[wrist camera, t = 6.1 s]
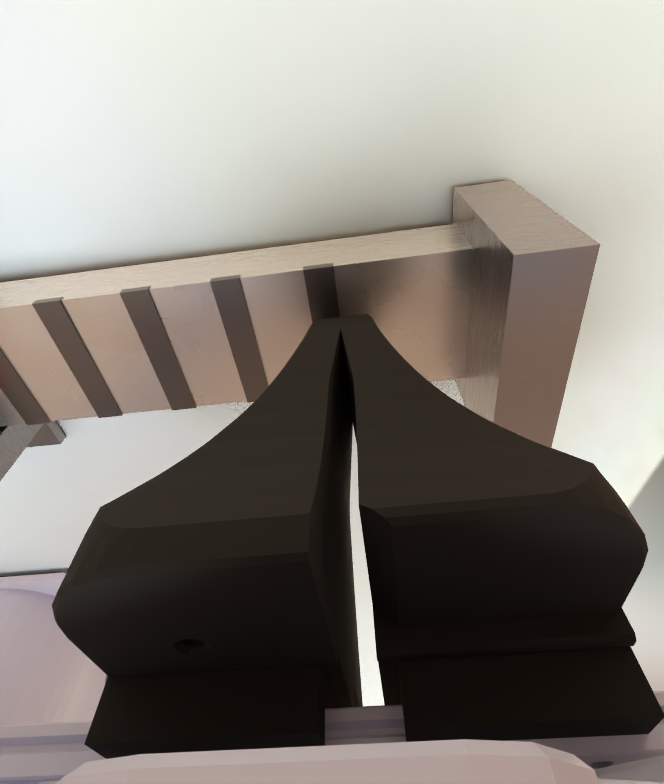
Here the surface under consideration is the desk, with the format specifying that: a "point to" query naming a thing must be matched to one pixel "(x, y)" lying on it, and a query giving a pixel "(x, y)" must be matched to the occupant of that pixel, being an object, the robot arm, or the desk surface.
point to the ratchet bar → (312, 317)
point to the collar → (25, 440)
